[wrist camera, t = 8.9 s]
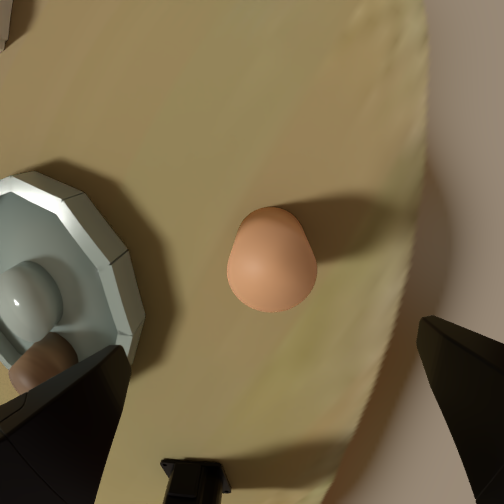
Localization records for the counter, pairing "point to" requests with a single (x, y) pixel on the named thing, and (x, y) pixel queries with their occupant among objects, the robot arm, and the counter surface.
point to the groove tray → (62, 272)
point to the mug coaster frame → (4, 21)
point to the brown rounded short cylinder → (42, 362)
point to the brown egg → (271, 261)
